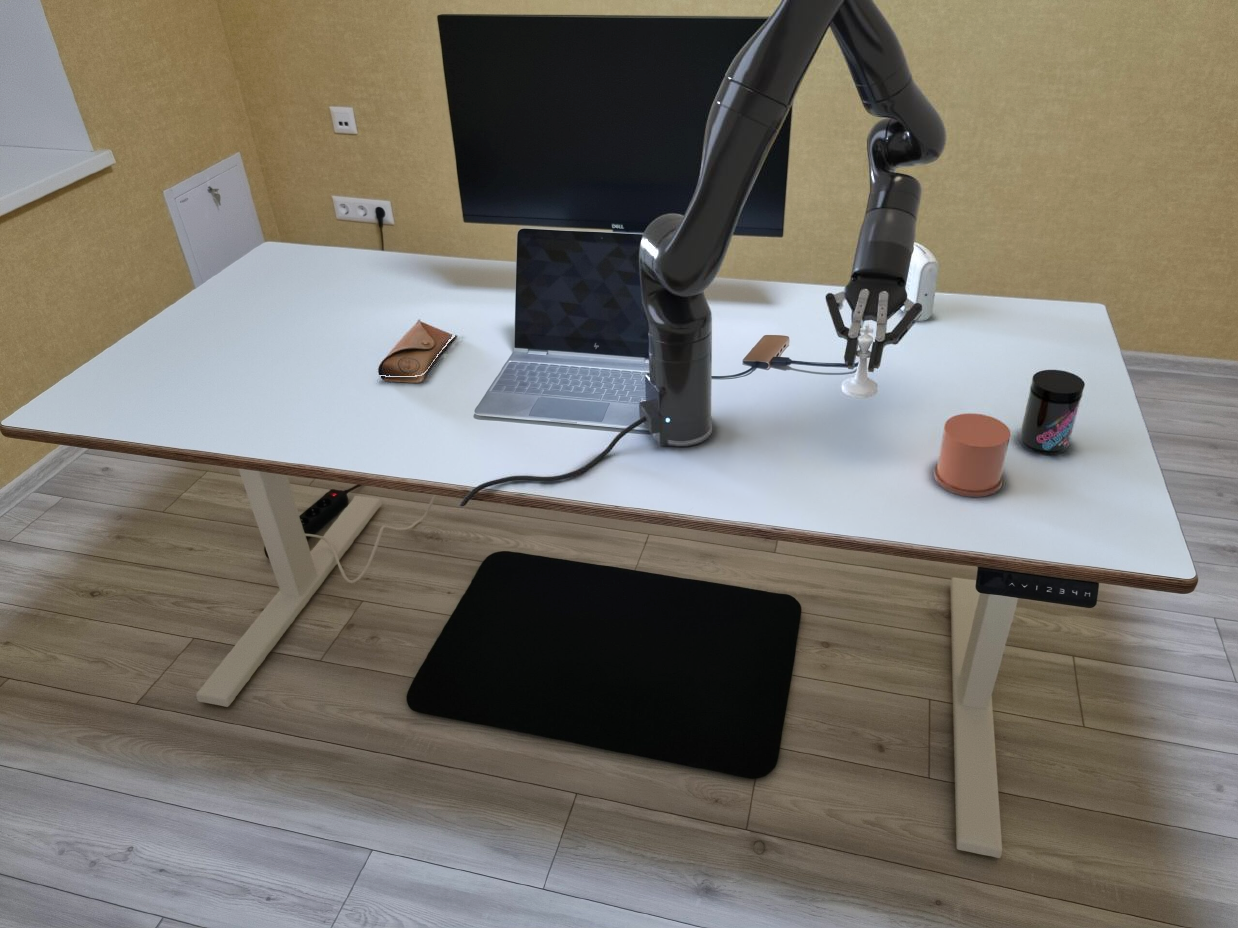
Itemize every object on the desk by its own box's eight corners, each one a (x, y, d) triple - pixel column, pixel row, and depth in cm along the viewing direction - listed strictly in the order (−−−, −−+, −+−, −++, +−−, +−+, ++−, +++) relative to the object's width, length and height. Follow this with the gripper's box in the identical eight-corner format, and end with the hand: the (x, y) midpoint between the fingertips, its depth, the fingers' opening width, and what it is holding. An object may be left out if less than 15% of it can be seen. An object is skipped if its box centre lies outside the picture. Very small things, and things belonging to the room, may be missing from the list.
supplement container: (1021, 455, 133) (1036, 392, 127) (1014, 429, 138) (1028, 368, 132) (1072, 458, 131) (1089, 394, 125) (1063, 432, 137) (1079, 370, 131)
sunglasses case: (425, 381, 158) (400, 350, 156) (396, 397, 162) (371, 368, 159) (459, 334, 173) (437, 305, 170) (432, 350, 176) (410, 322, 173)
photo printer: (934, 319, 169) (944, 255, 162) (912, 323, 168) (921, 258, 161) (909, 297, 177) (917, 235, 170) (888, 300, 177) (895, 238, 170)
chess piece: (878, 399, 127) (886, 334, 122) (841, 397, 128) (848, 332, 123) (877, 381, 131) (885, 317, 126) (841, 379, 132) (848, 316, 127)
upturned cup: (959, 503, 124) (969, 454, 120) (920, 468, 131) (928, 420, 127) (1016, 488, 126) (1027, 439, 122) (974, 454, 133) (984, 406, 129)
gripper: (832, 234, 127) (807, 354, 124) (937, 243, 122) (913, 368, 120) (835, 256, 134) (812, 370, 131) (935, 266, 129) (913, 384, 127)
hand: (860, 368), depth 126 cm, fingers closed on chess piece
